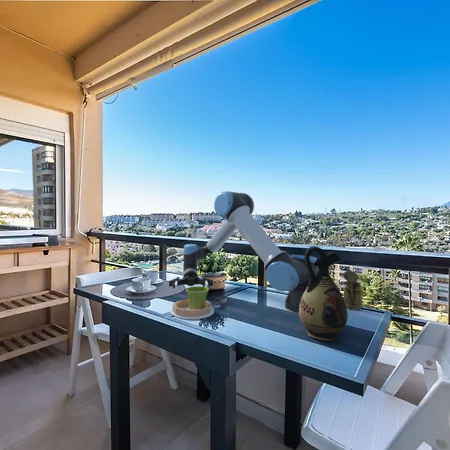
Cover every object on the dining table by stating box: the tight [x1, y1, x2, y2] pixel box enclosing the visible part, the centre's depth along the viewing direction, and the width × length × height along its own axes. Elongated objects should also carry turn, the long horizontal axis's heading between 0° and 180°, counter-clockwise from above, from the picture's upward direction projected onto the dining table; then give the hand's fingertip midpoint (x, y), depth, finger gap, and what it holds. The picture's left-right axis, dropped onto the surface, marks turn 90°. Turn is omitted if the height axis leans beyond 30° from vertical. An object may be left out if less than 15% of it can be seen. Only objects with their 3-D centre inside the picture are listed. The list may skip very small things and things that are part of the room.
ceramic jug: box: [298, 246, 349, 342], centre depth 98 cm, size 17×15×30 cm
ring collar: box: [169, 298, 215, 320], centre depth 120 cm, size 18×18×3 cm
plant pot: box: [185, 285, 209, 310], centre depth 121 cm, size 9×9×9 cm
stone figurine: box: [342, 269, 364, 310], centre depth 128 cm, size 9×14×18 cm, turn 147°
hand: (191, 287), depth 127 cm, fingers open, 13 cm apart
